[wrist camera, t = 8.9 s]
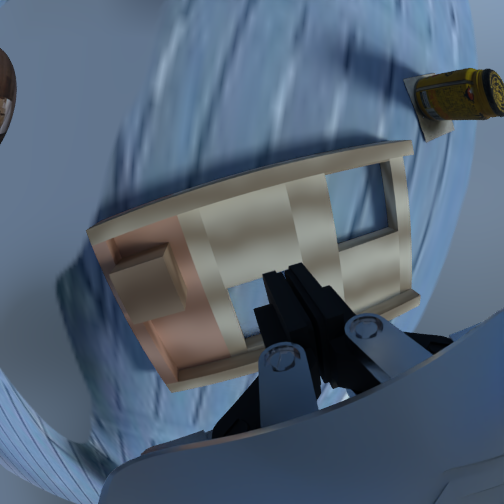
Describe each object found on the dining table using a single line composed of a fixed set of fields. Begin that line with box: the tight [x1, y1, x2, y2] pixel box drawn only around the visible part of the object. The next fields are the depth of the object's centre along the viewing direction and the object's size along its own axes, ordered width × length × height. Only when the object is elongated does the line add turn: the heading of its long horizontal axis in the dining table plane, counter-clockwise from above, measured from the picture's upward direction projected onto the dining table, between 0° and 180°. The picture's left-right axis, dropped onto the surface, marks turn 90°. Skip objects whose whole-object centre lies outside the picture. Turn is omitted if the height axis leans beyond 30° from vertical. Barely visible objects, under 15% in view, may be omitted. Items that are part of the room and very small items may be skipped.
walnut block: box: [109, 242, 188, 324], centre depth 23 cm, size 5×5×4 cm
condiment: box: [403, 68, 504, 142], centre depth 20 cm, size 7×8×12 cm
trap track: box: [86, 140, 420, 393], centre depth 27 cm, size 20×32×4 cm, turn 105°
